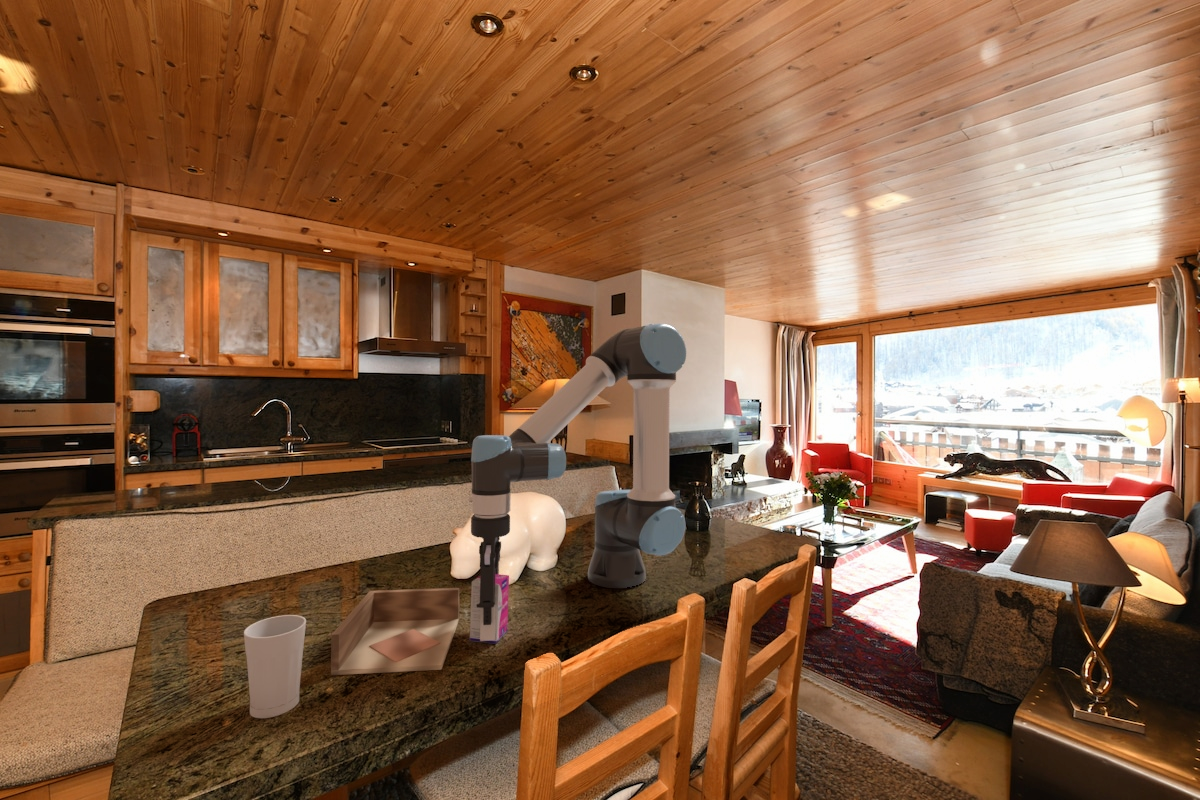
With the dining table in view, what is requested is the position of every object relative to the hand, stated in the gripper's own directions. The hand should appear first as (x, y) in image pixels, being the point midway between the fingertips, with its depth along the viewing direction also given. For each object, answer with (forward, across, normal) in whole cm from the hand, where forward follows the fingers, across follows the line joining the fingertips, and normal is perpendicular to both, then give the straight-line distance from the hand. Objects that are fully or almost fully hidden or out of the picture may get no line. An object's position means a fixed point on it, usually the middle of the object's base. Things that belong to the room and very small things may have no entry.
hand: (489, 630), depth 101 cm
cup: (+1, +20, -30) cm, 36 cm away
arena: (+1, +2, -16) cm, 16 cm away
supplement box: (+1, 0, 0) cm, 1 cm away
